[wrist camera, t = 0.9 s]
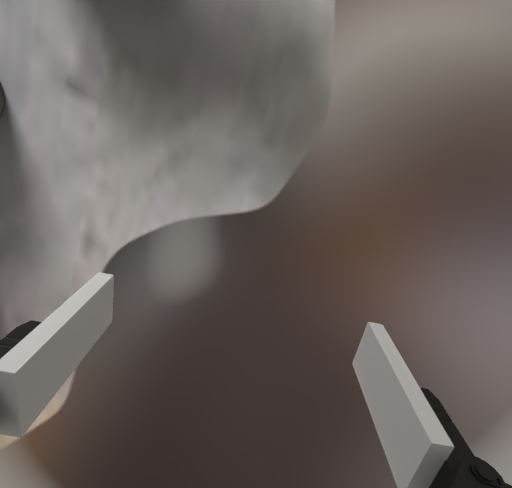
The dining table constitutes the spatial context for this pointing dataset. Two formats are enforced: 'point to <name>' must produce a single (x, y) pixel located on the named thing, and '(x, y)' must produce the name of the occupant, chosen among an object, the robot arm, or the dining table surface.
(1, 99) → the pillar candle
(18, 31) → the dining table surface
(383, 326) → the robot arm
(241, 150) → the dining table surface
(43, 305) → the dining table surface
